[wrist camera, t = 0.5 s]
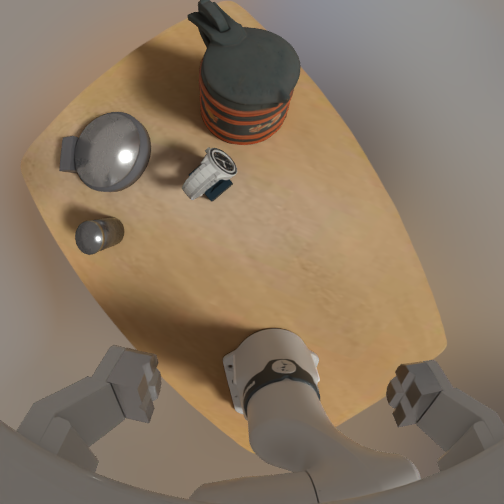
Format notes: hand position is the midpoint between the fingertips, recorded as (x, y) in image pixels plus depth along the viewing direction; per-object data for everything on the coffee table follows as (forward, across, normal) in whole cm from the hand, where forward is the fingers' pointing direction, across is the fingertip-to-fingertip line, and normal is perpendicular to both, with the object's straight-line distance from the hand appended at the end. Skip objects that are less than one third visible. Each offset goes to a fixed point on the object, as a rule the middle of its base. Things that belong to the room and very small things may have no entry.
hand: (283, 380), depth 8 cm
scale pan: (+35, -26, +6) cm, 44 cm away
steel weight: (+36, -26, -8) cm, 45 cm away
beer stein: (+42, -6, +16) cm, 46 cm away
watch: (+39, -8, +1) cm, 40 cm away
